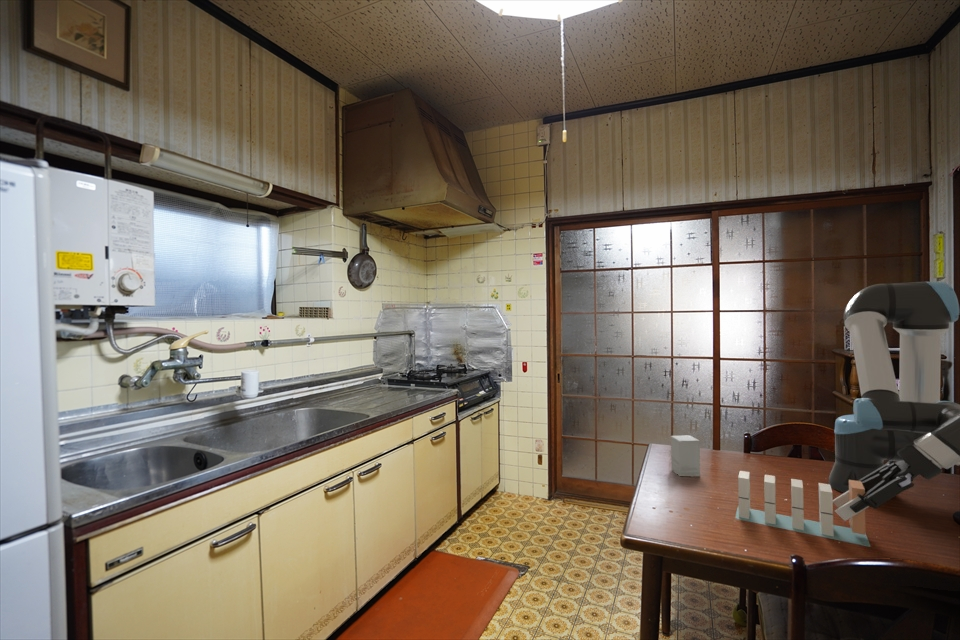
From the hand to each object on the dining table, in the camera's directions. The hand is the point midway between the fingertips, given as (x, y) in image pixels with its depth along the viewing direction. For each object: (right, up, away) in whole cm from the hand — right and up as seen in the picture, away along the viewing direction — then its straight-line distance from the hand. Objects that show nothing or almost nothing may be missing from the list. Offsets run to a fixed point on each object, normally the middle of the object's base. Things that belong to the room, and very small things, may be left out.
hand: (838, 510), depth 111 cm
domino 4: (-2, -6, +2) cm, 6 cm away
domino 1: (-17, -6, +12) cm, 21 cm away
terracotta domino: (+3, -4, -2) cm, 5 cm away
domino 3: (-7, -6, +5) cm, 10 cm away
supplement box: (-17, -7, +46) cm, 49 cm away
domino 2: (-12, -6, +8) cm, 16 cm away
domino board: (-7, -7, +5) cm, 11 cm away
